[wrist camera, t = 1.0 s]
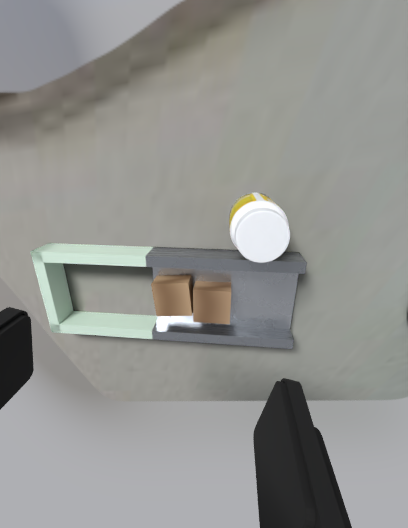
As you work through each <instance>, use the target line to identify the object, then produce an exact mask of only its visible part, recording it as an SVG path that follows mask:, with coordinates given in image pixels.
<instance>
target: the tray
mask: <svg viewBox="0 0 408 528" xmlns="http://www.w3.org/2000/svg"><path fill="white" fill-rule="evenodd" d="M152 248H153V247H139V246H111V245H83V244H55V243H49V244H46V245H44V246H42V247H40V248H37V249H35V250H33V251H30V252H31V256H32V259H33V263H34V267H35V271H36V274H37V278H38V282H39V286H40V290H41V293H42V297H43V301H44V305H45V308H46V312H47V316H48V320H49V323H50V327H51V331H52V332H57V333H71V334H86V335H100V336H114V337H128V338H143V339H153V338H152V329H153V327H154V325H155V323H156V321H157V320H156V316H147V315H131V314H115V313H99V312H82V311H73V306H72V302H71V297H70V293H69V288H68V283H67V279H66V274H65V270H64V265H63V263H68V264H91V265H114V266H137V267H146V258H145V256H146V255H147V254H148V253H149V252H150V250H151V249H152Z"/></svg>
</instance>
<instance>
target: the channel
mask: <svg viewBox="0 0 408 528" xmlns="http://www.w3.org/2000/svg"><path fill="white" fill-rule="evenodd" d="M145 258H146V267H152V268H153V281H154V279H155V278H156V276H161V275H189V274H191V276H192V285H193V288H194V285H195V281H210V282H231V307H230V324H217V323H202V322H193V314H192V316H157V315H156V320H157V321H156V323H155V325H154V327H153V329H152V338H153V339H157V340H171V341H186V342H200V343H214V344H228V345H243V346H257V347H271V348H286V349H292V348H293V342H294V339H293V337H292V334H291V331H290V325H291V319H292V312H293V306H294V300H295V293H296V287H297V281H298V274H305V271H306V265H307V262H306V261H305V259H304V258H303V257H302V255H301V254H300V253H299V252H284V253H283V254H282V255H281V256H279V257H278V258H276V259H275V260H272V261H270V262H265V263H258V262H253V261H250V260H248V259H246V258H245V257H244V256H243V255H242V254H241V253H240V252H239V250H222V249H194V248H167V247H153V248H152V249H151V250H150V252H149V253H148V254H147V255H146V256H145Z"/></svg>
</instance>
